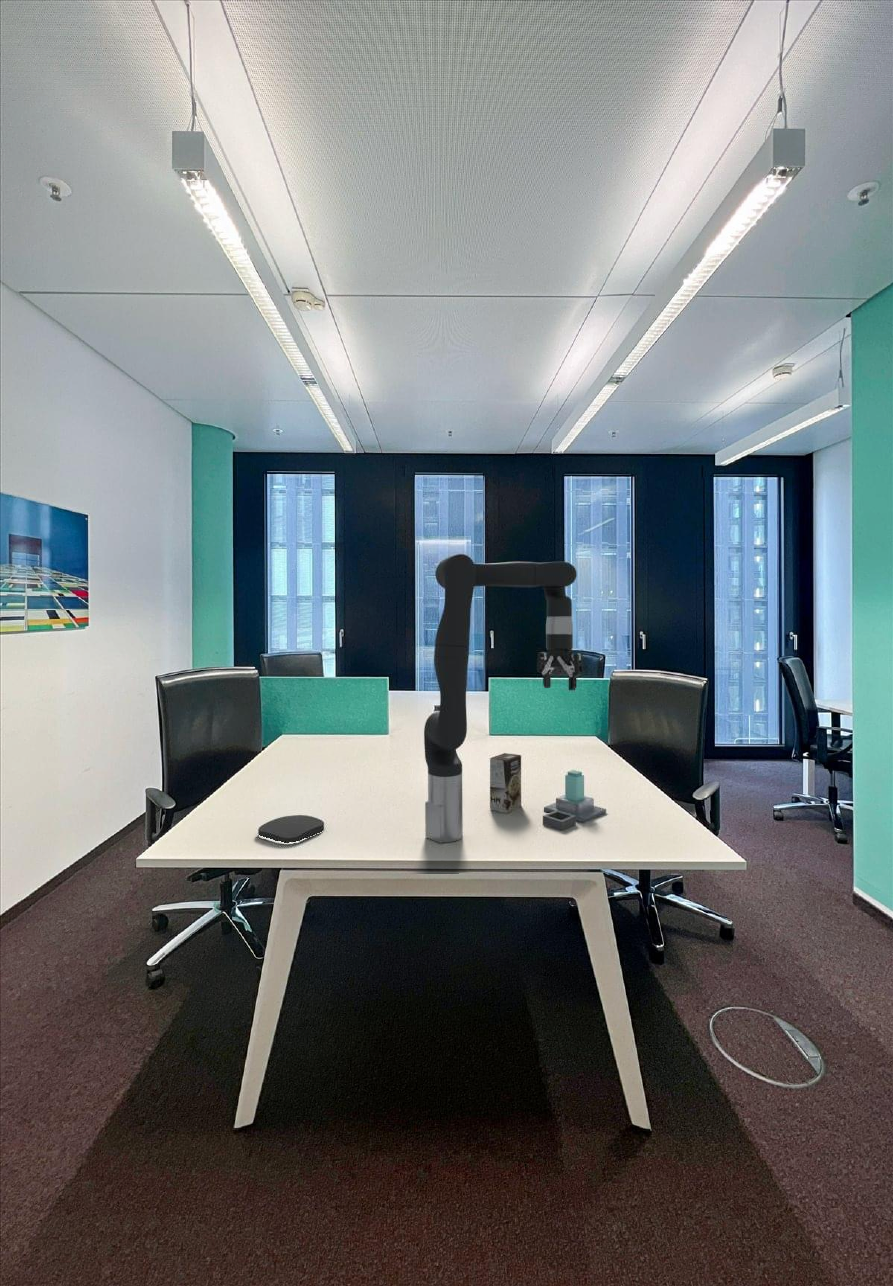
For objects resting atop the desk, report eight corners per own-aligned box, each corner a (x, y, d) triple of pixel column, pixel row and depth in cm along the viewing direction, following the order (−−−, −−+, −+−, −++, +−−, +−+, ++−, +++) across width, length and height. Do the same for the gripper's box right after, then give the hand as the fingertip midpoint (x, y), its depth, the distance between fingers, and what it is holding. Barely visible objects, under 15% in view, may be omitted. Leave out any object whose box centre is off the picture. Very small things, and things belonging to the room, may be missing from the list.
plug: (576, 811, 160) (576, 774, 160) (565, 808, 163) (565, 771, 162) (584, 808, 163) (584, 771, 162) (572, 804, 165) (572, 769, 165)
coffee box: (507, 814, 162) (507, 760, 161) (489, 809, 165) (488, 757, 165) (522, 805, 169) (522, 754, 168) (504, 802, 173) (504, 752, 172)
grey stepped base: (583, 823, 153) (583, 808, 153) (543, 811, 164) (543, 797, 164) (606, 813, 161) (606, 799, 161) (567, 802, 172) (567, 789, 172)
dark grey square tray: (562, 830, 148) (562, 821, 148) (542, 824, 153) (542, 815, 152) (576, 824, 152) (575, 816, 152) (556, 818, 157) (556, 810, 157)
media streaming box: (290, 849, 138) (289, 837, 138) (252, 837, 145) (251, 826, 145) (330, 830, 150) (330, 819, 150) (293, 821, 158) (293, 811, 158)
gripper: (531, 632, 157) (531, 688, 158) (572, 632, 147) (572, 692, 147) (547, 632, 162) (547, 686, 163) (588, 632, 152) (588, 689, 152)
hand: (559, 689), depth 155 cm, fingers open, 8 cm apart
